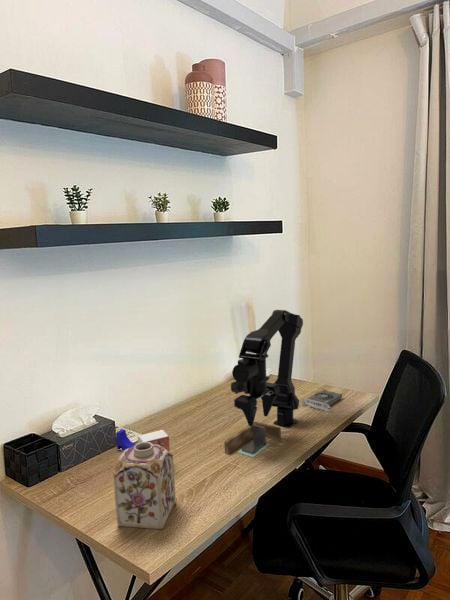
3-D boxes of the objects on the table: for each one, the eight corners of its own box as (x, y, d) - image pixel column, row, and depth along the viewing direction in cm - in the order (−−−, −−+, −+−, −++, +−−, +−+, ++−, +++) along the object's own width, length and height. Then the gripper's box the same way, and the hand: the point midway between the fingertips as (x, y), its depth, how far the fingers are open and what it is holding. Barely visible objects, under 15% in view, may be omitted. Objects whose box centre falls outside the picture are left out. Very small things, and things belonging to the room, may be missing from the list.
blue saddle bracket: (156, 450, 148) (155, 432, 147) (148, 456, 144) (147, 438, 143) (125, 444, 153) (124, 427, 152) (117, 450, 149) (115, 432, 148)
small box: (145, 477, 131) (142, 442, 130) (139, 468, 136) (136, 435, 135) (171, 469, 135) (169, 435, 133) (164, 461, 140) (162, 428, 138)
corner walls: (255, 432, 158) (254, 421, 157) (280, 439, 152) (280, 427, 151) (224, 453, 143) (224, 441, 143) (252, 461, 138) (251, 449, 137)
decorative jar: (176, 501, 118) (173, 436, 116) (163, 530, 107) (159, 458, 104) (132, 499, 120) (128, 434, 118) (115, 527, 109) (109, 456, 106)
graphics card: (328, 405, 171) (301, 398, 179) (328, 415, 172) (301, 407, 180) (349, 393, 184) (322, 387, 192) (349, 402, 184) (322, 395, 192)
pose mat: (254, 440, 151) (254, 439, 151) (269, 445, 148) (269, 444, 148) (236, 452, 143) (236, 452, 143) (253, 457, 140) (253, 456, 140)
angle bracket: (255, 441, 150) (254, 424, 149) (265, 444, 148) (265, 426, 147) (241, 451, 144) (241, 433, 143) (252, 454, 142) (252, 436, 141)
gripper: (251, 363, 157) (252, 406, 159) (219, 378, 142) (220, 425, 144) (280, 367, 151) (280, 413, 153) (249, 383, 136) (250, 433, 138)
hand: (258, 420), depth 147 cm, fingers open, 9 cm apart
